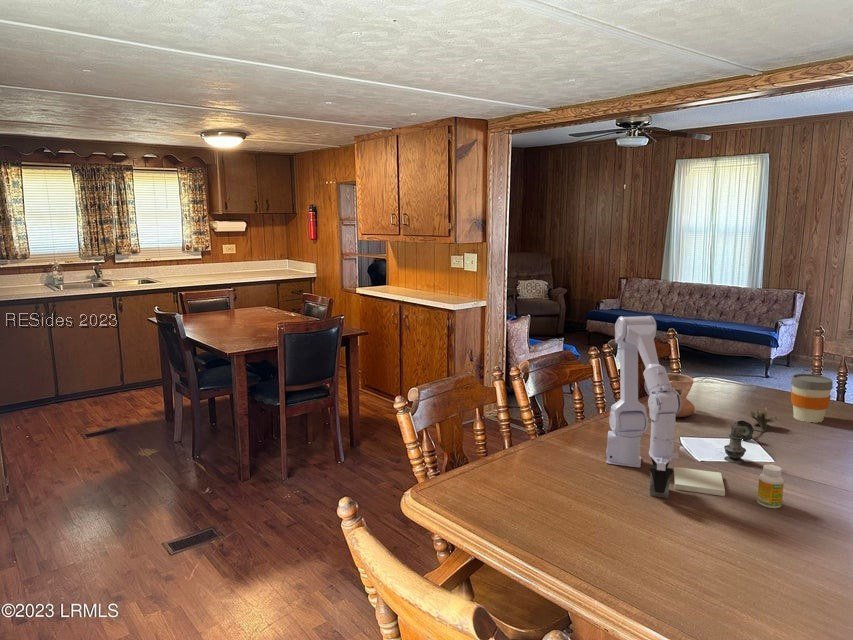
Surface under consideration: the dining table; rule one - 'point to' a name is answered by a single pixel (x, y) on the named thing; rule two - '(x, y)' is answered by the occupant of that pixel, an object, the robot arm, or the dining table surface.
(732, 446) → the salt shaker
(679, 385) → the ceramic jug
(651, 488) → the slate block
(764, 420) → the artificial flower
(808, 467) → the dining table surface
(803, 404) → the reusable coffee cup
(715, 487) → the cream square slab
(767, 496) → the supplement bottle
